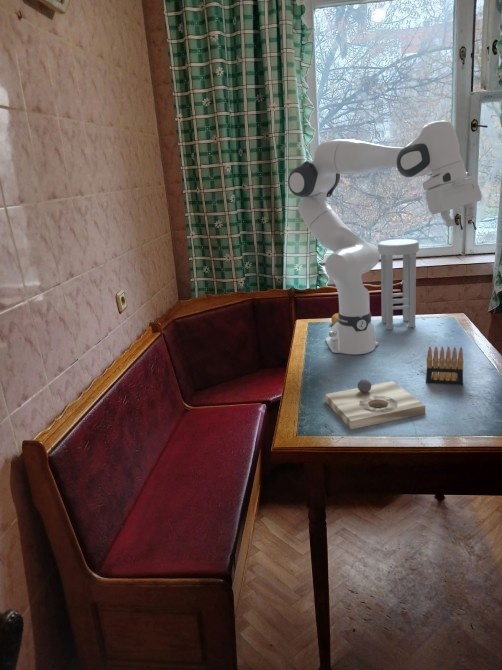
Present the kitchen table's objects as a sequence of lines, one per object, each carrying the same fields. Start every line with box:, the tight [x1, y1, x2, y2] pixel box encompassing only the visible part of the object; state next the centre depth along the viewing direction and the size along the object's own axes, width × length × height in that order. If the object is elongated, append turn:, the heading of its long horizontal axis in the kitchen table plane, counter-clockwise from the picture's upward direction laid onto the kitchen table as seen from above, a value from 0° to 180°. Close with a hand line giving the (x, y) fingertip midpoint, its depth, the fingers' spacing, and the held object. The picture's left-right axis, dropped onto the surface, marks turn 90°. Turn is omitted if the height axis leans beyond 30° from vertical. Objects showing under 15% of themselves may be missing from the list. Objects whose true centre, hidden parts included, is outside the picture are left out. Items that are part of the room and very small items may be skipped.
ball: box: [357, 378, 372, 393], centre depth 146 cm, size 4×4×4 cm
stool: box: [377, 238, 420, 330], centre depth 205 cm, size 16×16×35 cm
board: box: [324, 380, 426, 430], centre depth 142 cm, size 18×22×2 cm
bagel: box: [331, 312, 339, 326], centre depth 217 cm, size 10×11×5 cm
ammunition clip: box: [425, 346, 464, 386], centre depth 151 cm, size 11×2×12 cm, turn 71°
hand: (461, 222), depth 146 cm, fingers open, 8 cm apart
